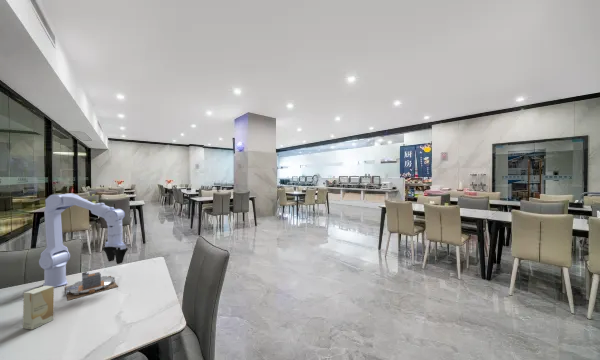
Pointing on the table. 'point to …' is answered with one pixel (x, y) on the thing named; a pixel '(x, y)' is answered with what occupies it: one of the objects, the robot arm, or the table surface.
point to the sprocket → (78, 288)
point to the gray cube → (91, 280)
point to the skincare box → (38, 307)
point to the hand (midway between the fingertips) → (115, 262)
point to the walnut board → (72, 296)
